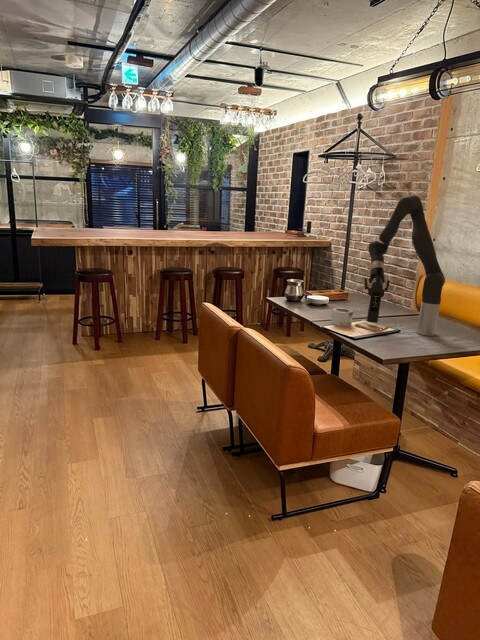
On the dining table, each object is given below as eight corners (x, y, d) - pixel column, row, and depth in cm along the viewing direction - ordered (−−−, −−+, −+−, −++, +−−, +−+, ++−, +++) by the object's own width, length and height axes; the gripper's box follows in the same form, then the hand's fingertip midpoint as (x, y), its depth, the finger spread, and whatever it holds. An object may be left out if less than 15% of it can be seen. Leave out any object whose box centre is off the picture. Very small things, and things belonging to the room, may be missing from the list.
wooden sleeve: (338, 320, 261) (340, 307, 259) (354, 325, 254) (356, 311, 252) (328, 323, 254) (329, 309, 252) (343, 327, 247) (345, 313, 245)
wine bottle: (377, 323, 249) (385, 268, 241) (367, 322, 250) (374, 267, 242) (376, 320, 254) (384, 267, 246) (366, 319, 255) (373, 266, 247)
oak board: (367, 322, 261) (367, 321, 261) (387, 328, 252) (388, 326, 252) (354, 326, 252) (354, 324, 252) (375, 331, 243) (376, 329, 243)
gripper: (364, 265, 252) (363, 290, 244) (391, 268, 250) (391, 293, 242) (362, 273, 259) (361, 298, 251) (389, 276, 256) (388, 301, 248)
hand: (376, 295), depth 246 cm, fingers closed on wine bottle, 5 cm apart
